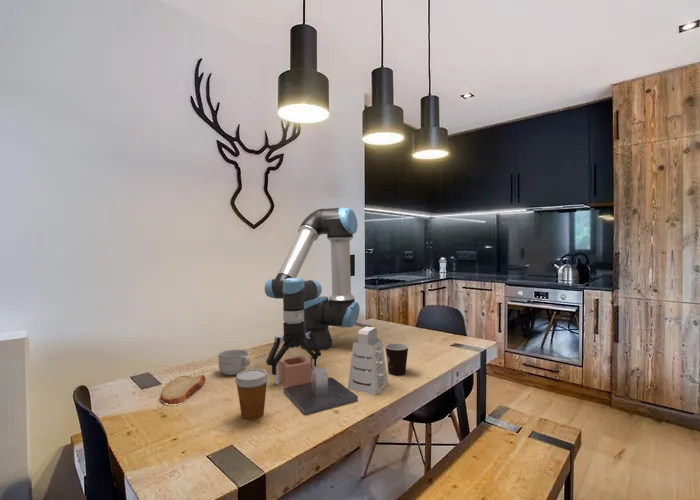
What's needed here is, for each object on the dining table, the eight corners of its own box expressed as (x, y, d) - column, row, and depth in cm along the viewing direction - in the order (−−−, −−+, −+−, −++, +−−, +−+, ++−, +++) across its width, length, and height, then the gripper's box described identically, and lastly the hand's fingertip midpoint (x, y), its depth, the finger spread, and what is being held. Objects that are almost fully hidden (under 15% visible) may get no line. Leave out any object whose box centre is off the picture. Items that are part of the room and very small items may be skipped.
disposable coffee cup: (270, 419, 104) (269, 378, 104) (235, 425, 101) (234, 382, 101) (268, 405, 113) (267, 366, 113) (235, 409, 110) (235, 370, 110)
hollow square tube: (278, 378, 134) (278, 359, 134) (301, 373, 139) (301, 355, 139) (287, 387, 127) (286, 367, 126) (311, 381, 131) (311, 362, 131)
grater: (388, 383, 129) (387, 327, 128) (375, 394, 120) (375, 334, 119) (361, 378, 134) (361, 324, 133) (347, 388, 125) (346, 330, 124)
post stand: (283, 392, 122) (283, 367, 122) (331, 381, 131) (331, 358, 131) (304, 414, 107) (304, 386, 106) (357, 400, 116) (357, 374, 115)
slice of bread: (169, 409, 112) (169, 397, 112) (146, 393, 124) (145, 382, 123) (223, 390, 126) (223, 379, 125) (197, 377, 137) (197, 367, 137)
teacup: (213, 373, 141) (213, 352, 140) (239, 365, 149) (238, 346, 148) (232, 382, 131) (231, 360, 131) (258, 374, 139) (257, 353, 139)
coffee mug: (407, 377, 134) (407, 350, 134) (384, 376, 136) (384, 349, 135) (409, 366, 145) (409, 341, 145) (387, 365, 147) (387, 340, 147)
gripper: (262, 328, 123) (263, 390, 123) (329, 319, 135) (330, 376, 136) (256, 323, 129) (257, 382, 130) (320, 315, 141) (321, 369, 142)
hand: (294, 379), depth 133 cm, fingers open, 13 cm apart
